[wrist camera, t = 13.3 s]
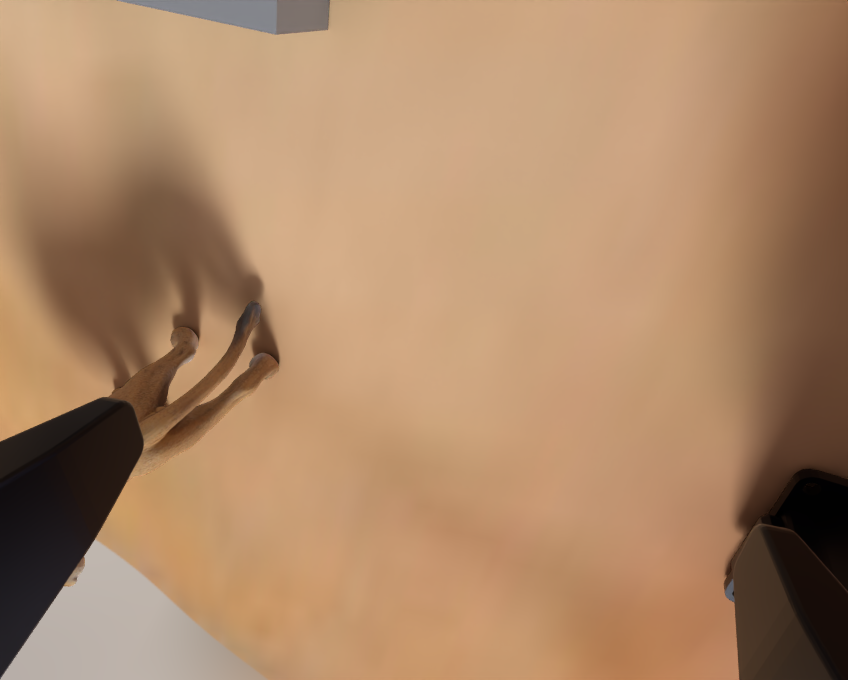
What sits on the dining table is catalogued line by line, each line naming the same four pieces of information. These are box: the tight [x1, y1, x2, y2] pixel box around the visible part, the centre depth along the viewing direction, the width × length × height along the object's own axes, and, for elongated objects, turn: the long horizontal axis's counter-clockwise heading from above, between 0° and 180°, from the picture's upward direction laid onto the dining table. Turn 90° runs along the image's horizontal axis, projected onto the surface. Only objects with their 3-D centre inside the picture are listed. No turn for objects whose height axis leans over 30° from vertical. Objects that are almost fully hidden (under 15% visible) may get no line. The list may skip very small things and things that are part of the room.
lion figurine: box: [64, 301, 279, 586], centre depth 24 cm, size 15×5×9 cm, turn 141°
